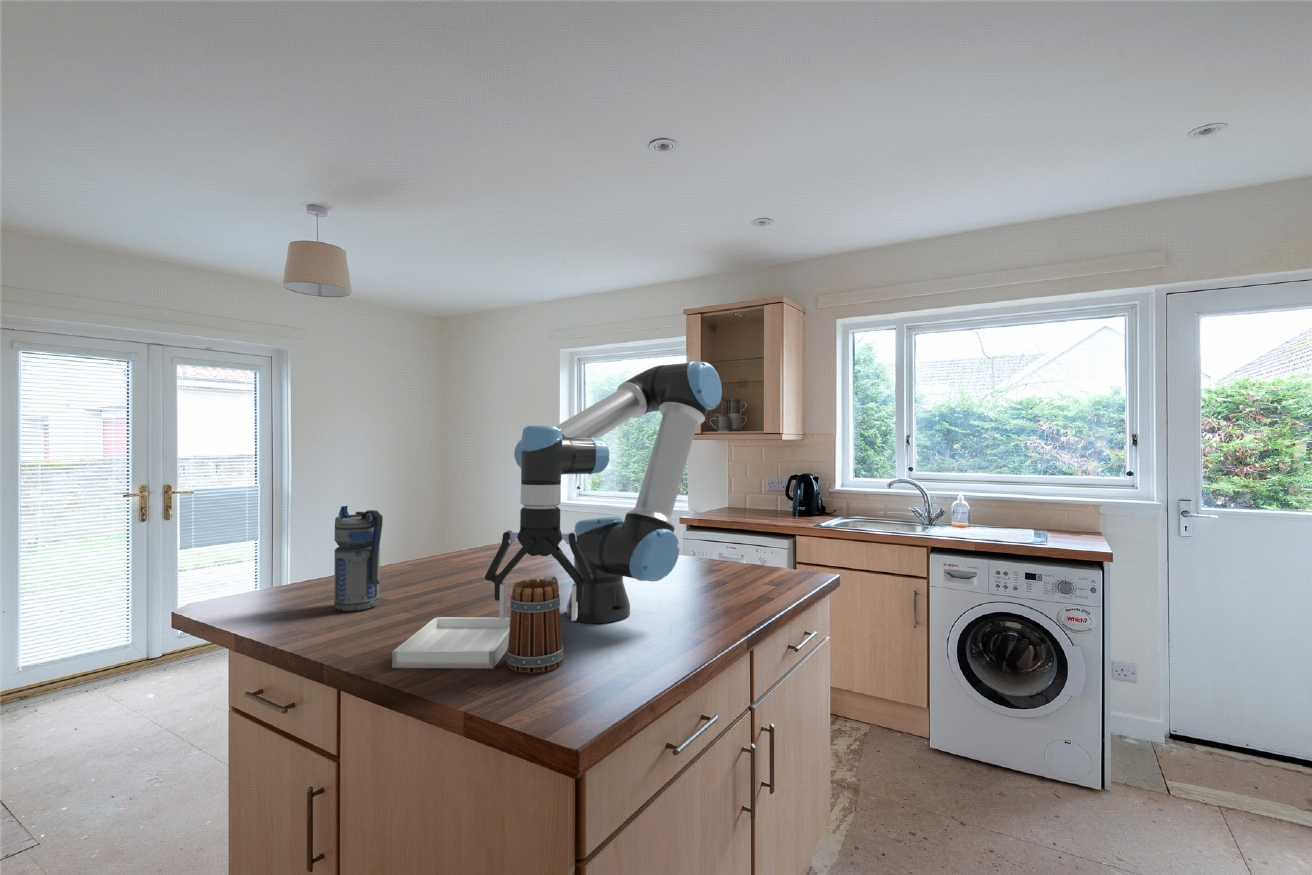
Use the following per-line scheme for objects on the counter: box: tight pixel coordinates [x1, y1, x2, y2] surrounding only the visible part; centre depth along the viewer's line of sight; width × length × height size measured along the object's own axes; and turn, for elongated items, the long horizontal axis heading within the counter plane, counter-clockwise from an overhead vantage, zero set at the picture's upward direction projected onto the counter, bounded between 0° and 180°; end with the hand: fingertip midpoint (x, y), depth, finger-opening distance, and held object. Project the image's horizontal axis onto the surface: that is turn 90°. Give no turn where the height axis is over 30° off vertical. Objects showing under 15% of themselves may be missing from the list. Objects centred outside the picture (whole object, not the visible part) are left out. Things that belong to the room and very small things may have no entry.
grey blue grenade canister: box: [333, 505, 384, 612], centre depth 153 cm, size 10×13×25 cm
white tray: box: [391, 616, 510, 669], centre depth 123 cm, size 19×22×3 cm
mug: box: [506, 575, 564, 675], centre depth 117 cm, size 16×11×15 cm
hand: (538, 618), depth 117 cm, fingers open, 13 cm apart
